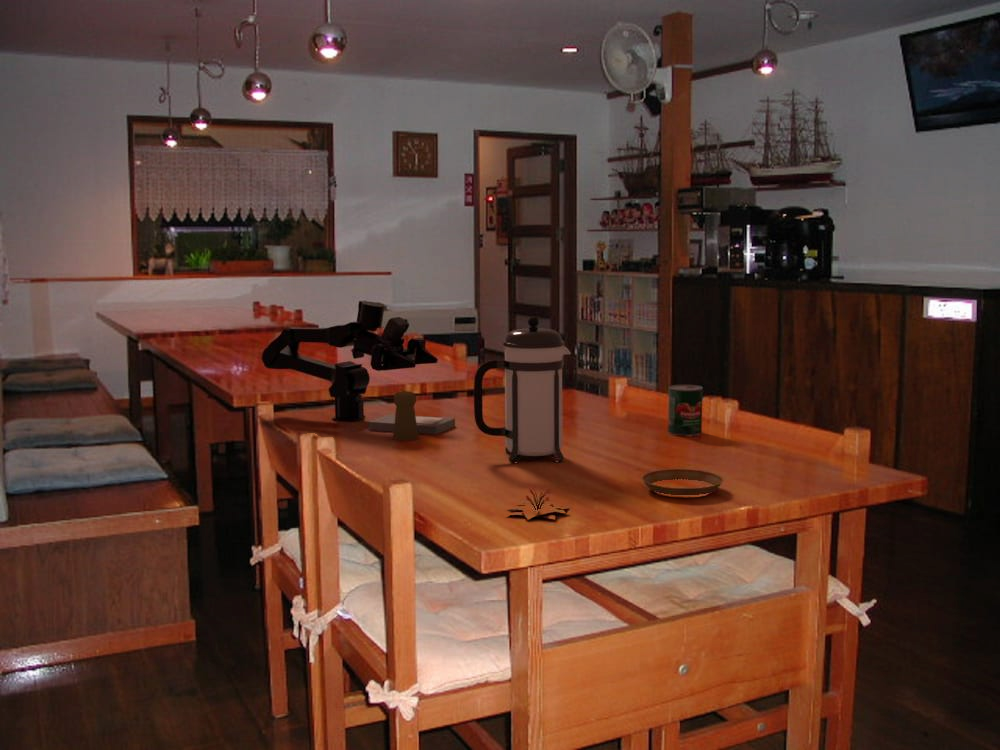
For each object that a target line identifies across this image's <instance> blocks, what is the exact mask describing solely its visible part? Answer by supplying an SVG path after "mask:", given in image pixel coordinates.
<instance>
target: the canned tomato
mask: <svg viewBox="0 0 1000 750" xmlns="http://www.w3.org/2000/svg"><path fill="white" fill-rule="evenodd" d="M703 389H704V388H703V386H701V385H696V384H673V385H670V386H668V410H667V412H668V415H667V417H668V420H667V421H668V424H667V433H668V434H669V435H671V434H672V436H675V435H686V436H685V437H690V436H689V435H697V434H700V435H702V434H701V433H702V432H703V430H702V429H703V425H702V424H703ZM697 436H698V435H697Z"/></svg>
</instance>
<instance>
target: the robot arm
mask: <svg viewBox="0 0 1000 750" xmlns="http://www.w3.org/2000/svg"><path fill="white" fill-rule="evenodd" d="M385 306H386V305H385V304H384V303H382V302H379V301H377V302H376V301H367V300H359V301H358V309H357V316H356V321H350V322H348V323H345V324H338V325H333V326H329V327H300V326H292V327H286V328H285V329H283V330H282V331H281V333H280V334H279V335H278V336H276V337H275V339H274V340H272V341H271V342H270V343H269V344H268V345H267V347H265V349H264V350H263V351H262V354H261V360H262V363H263V366H264V367H265V368H266V369H269V370H292V371H295V372H298V373H302V374H305V375H309V376H312V377H315V378H317V379H318V378H319V379H322V380H325V381H328V382H330V383H331V385H330V387H329V388H328V392H329V393H328V394H329V395H330V398H334V414H335V415H334V417H332V418H331V420H333V421H345V422H356V421H360V420H361V419H364V418H366V415H365V414H364V411H365V409H364V400H363V399H362V398H363V397H362V396H363V395H365V394H366V392H367V388H368V386H369V383H370V378H371V377H370V374H369V373H370V372H368V369H367V368H366V367H364V366H363V364H362V363H360V364H359V363H355V362H353V361H350V360H348V361H344V362H343V361H342V362H337V363H336V362H335V363H334V364H333V363H330V362H327V361H324V360H319V359H317V358H312V357H308V356H305V355H301V353H299V351H300V345H301V343H320V344H321V343H324V344H327V345H329V346H332V347H335V348H341V349H342V348H347V347H352V349H350V352H351V353H352V357H353V359H355V360H356V359H361V358H364V357H365V355H367V356H370V363H369V364H370V366H371V368H372V369H373V370H374V371H378V372H380V371H382V372H383V371H392V370H402V369H403V370H404V369H412V368H413V369H414V368H416V365H426V364H427V365H428V364H429V365H430V364H438V359H439V358H437V357H436V355H434V354H432V352H430V351H429V350H428V349H427V348H426V343H427V341H426V339H425V338H422V337H413V338H411V339H409V340H408V341H407V347H406V348H404V346H403V345H404V343H405V338H403V337H404V335H405V334H406V333H407V331H408V329H409V327H410V323H409V322H408V319H407V318H403V317H401V316H397V317H391V318H389V320H388V321H387V323H386V324H385V327H384V329H383V331H382V334H379V333H375V332H377V330H378V329H381V328H382V327H383V326H382V325H383V320H384V313H385ZM372 369H371V370H372Z"/></svg>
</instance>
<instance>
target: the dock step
mask: <svg viewBox="0 0 1000 750" xmlns="http://www.w3.org/2000/svg"><path fill="white" fill-rule="evenodd" d="M395 414H396V413H389V414H387V415H384V416H382V417H379V418H375V419H373V420H371V421H368V430H369V431H379V432H392V433H394V424H395ZM415 417H416V423H417V430H418V434H420V435H421V434H422V435H423V434H424V435H435V436H436V435H439V434H440V433H443V432H445V431H448V430H449V429H452V428H454V427H456V418H454V417H439V416H423V415H415Z"/></svg>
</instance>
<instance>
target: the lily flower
mask: <svg viewBox="0 0 1000 750" xmlns="http://www.w3.org/2000/svg"><path fill="white" fill-rule="evenodd" d="M532 489H533V490H531V489H529V493H530V494H532V495H533V499H534V500H531V498H530V497H529V496H528V495H526V496H525V497H526V499H525V500H527V501H529V502H530V504H532V505H533V506H534V504H536V506H537V510H538V509H541V506H542V504H545V502H547V501H550V499H549V496H548V497H546V495H548V494H550V493H551V488H549V489H547V490H546V491H545V492H544V493H543V491H541V492H540V494H539V497H538V494H537V492H536V491H535V488H534V487H532ZM541 490H543V486H542V487H541ZM533 491H534V492H533ZM544 497H545V499H544ZM538 503H539V504H538ZM540 503H541V505H540ZM537 504H538V505H537ZM550 504H551V505H550V506H552V507H554V504H553V503H550ZM539 505H540V508H539ZM516 506H525V505H522V504H518V505H516ZM534 508H535V506H534ZM556 509H558V510H564V509H561V508H556ZM535 510H536V508H535ZM515 511H519V510H518V509H516V510H515ZM556 514H559V513H558V512H557V513H556ZM522 515H524V513H523V514H522Z"/></svg>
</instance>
